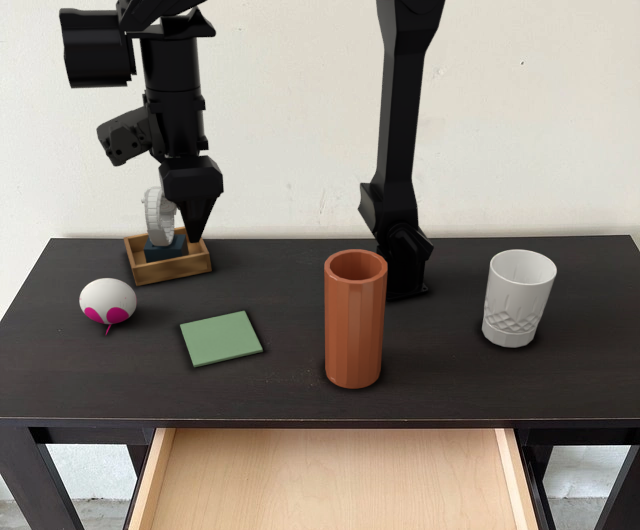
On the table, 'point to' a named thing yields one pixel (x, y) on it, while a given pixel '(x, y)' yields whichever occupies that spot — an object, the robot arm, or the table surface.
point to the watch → (161, 228)
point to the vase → (354, 317)
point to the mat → (220, 338)
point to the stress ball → (108, 301)
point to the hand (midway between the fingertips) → (187, 225)
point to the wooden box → (166, 268)
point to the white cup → (516, 296)
